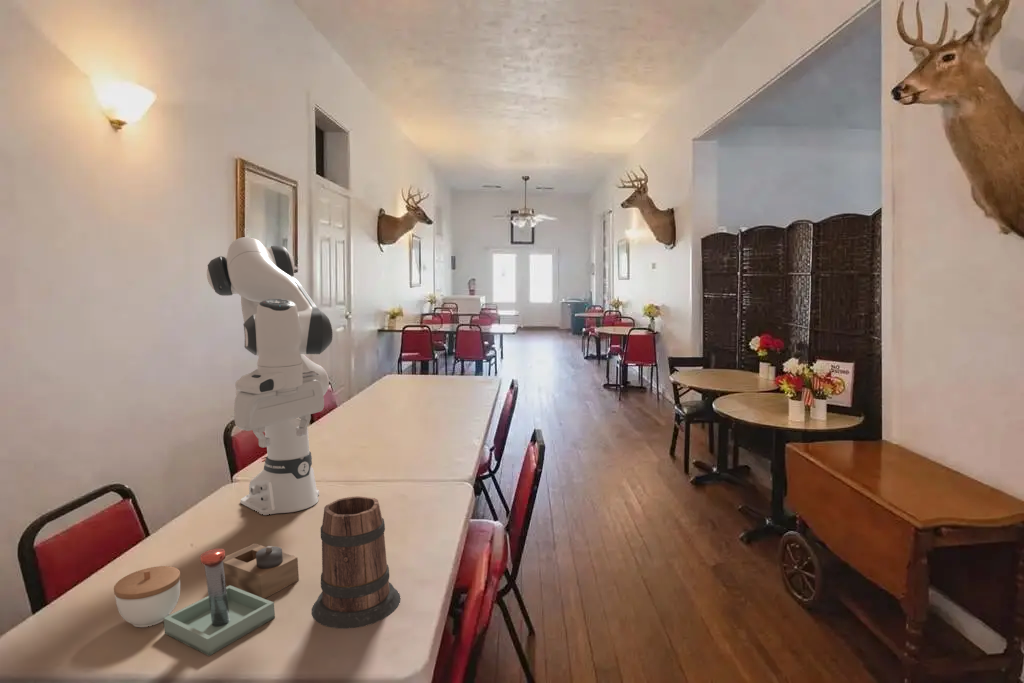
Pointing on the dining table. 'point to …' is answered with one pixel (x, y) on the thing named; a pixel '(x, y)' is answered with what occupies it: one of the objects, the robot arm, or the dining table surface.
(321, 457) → the dining table surface
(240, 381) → the robot arm
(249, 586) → the block
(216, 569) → the lock pin
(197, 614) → the tray
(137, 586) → the lidded jar
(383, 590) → the tankard
